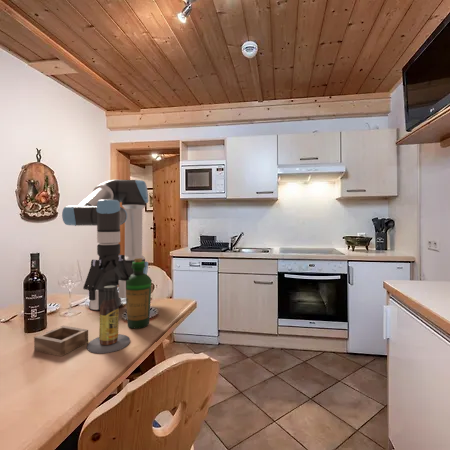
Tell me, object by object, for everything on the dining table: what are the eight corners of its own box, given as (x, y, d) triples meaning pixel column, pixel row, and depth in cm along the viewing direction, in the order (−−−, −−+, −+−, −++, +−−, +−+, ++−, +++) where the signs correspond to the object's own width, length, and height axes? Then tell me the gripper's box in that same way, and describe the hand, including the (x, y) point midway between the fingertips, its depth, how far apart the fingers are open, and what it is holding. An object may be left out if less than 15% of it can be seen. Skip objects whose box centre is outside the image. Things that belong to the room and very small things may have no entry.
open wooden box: (63, 337, 103) (63, 325, 103) (88, 342, 99) (88, 329, 99) (34, 350, 93) (34, 337, 93) (60, 356, 89) (60, 342, 89)
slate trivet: (107, 333, 107) (107, 331, 107) (137, 338, 102) (137, 337, 102) (77, 349, 94) (77, 347, 94) (110, 356, 89) (110, 354, 89)
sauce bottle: (111, 347, 94) (111, 289, 94) (95, 345, 95) (95, 288, 95) (122, 339, 101) (122, 285, 100) (106, 337, 102) (106, 284, 101)
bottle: (119, 328, 112) (119, 259, 111) (135, 319, 122) (135, 256, 121) (142, 331, 109) (142, 261, 108) (156, 322, 119) (156, 257, 118)
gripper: (124, 240, 110) (124, 292, 111) (70, 246, 87) (71, 313, 88) (139, 240, 108) (139, 294, 109) (89, 248, 84) (89, 316, 85)
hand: (109, 303), depth 98 cm, fingers open, 13 cm apart
